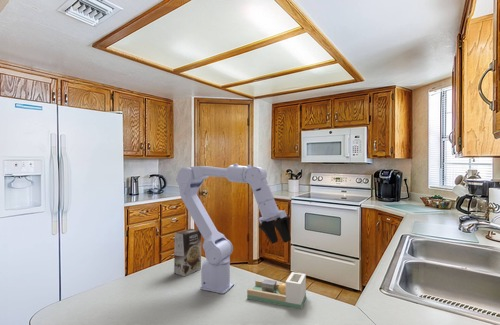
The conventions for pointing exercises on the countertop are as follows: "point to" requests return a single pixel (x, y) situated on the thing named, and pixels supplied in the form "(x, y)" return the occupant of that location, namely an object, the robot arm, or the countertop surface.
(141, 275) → the countertop surface
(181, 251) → the coffee box
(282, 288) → the ball
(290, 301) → the pitch
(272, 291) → the block
